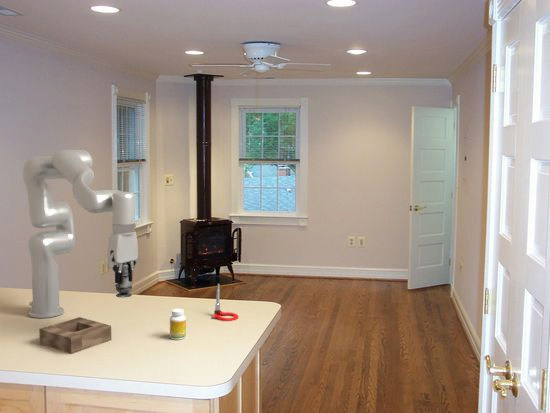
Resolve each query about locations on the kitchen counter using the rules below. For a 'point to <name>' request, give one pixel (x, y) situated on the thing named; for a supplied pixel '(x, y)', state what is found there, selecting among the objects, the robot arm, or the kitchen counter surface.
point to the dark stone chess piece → (124, 284)
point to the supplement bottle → (177, 324)
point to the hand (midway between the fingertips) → (123, 281)
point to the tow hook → (218, 312)
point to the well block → (75, 335)
